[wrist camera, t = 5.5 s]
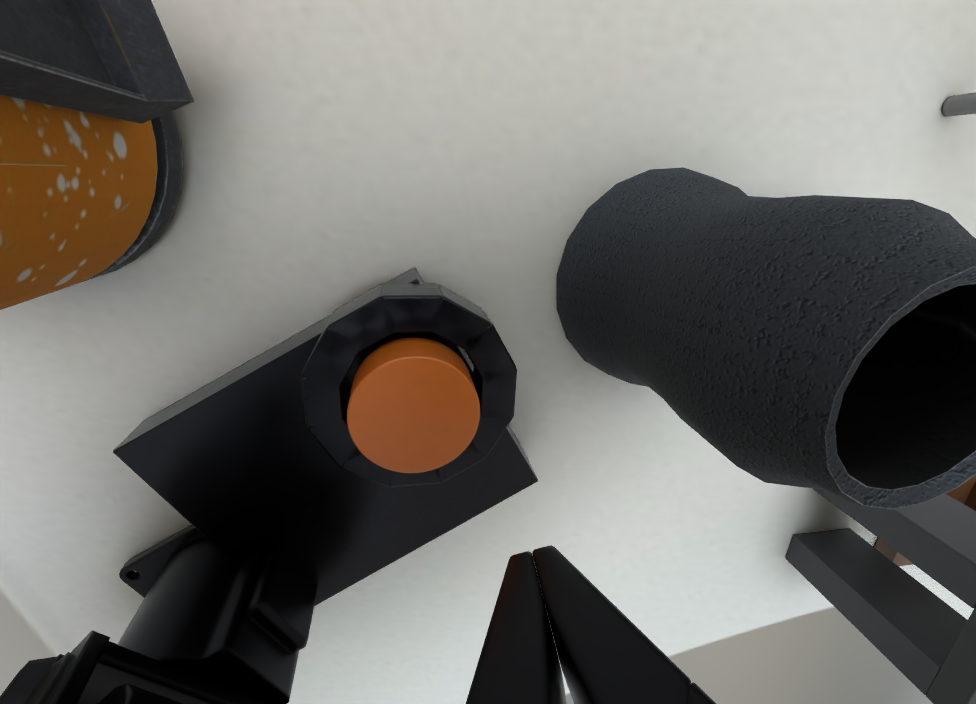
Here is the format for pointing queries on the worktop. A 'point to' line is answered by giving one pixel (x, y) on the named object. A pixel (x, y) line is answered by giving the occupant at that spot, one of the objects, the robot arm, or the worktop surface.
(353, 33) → the worktop surface
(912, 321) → the mug
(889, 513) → the grey bridge block
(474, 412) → the button
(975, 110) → the citrus juicer
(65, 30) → the canister
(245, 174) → the worktop surface
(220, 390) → the button block
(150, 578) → the robot arm
